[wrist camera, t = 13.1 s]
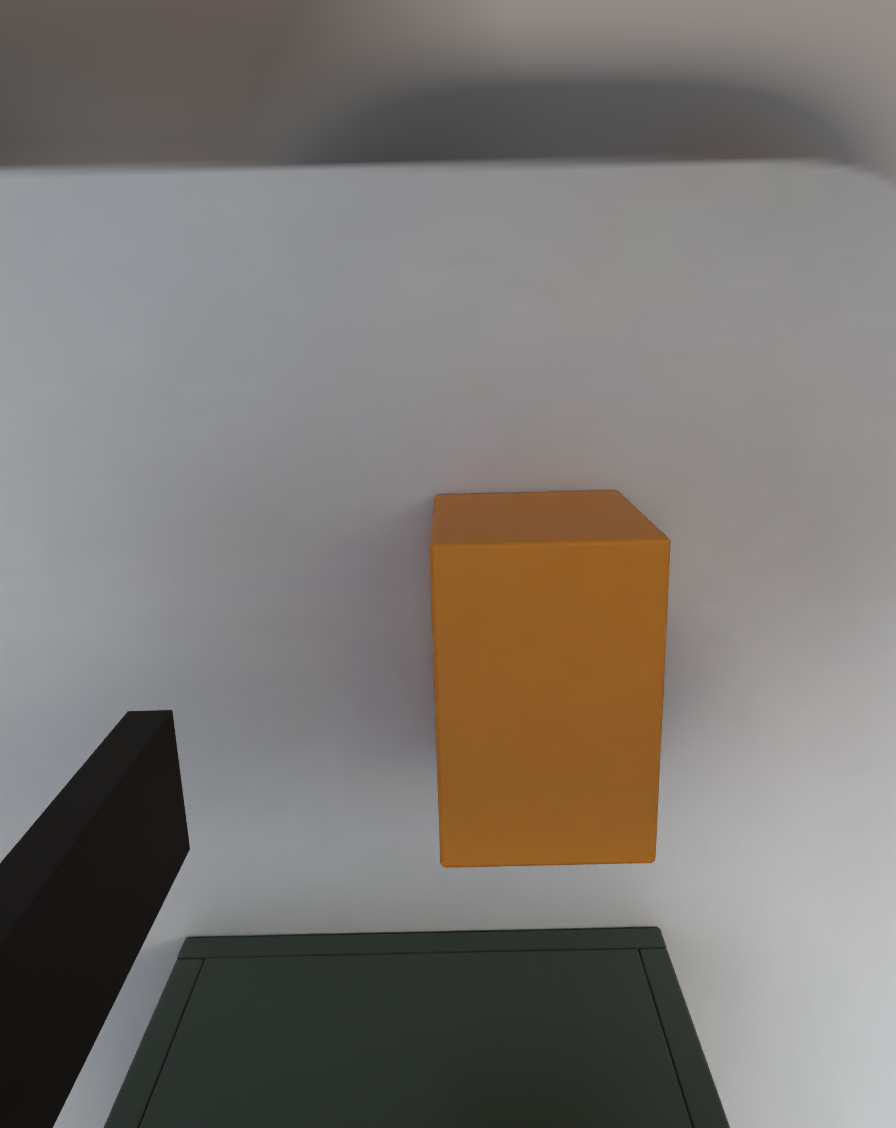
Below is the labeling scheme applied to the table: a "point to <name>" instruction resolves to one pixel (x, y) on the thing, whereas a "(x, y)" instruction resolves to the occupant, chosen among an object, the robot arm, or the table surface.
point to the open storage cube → (422, 1035)
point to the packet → (547, 677)
